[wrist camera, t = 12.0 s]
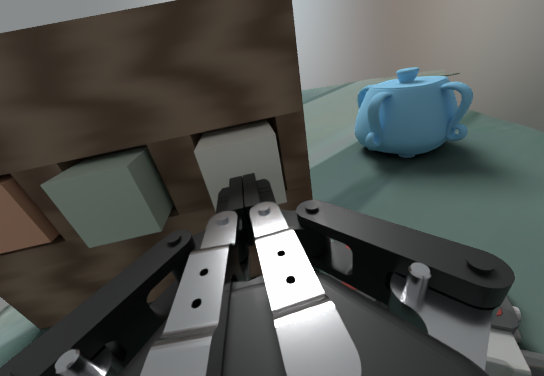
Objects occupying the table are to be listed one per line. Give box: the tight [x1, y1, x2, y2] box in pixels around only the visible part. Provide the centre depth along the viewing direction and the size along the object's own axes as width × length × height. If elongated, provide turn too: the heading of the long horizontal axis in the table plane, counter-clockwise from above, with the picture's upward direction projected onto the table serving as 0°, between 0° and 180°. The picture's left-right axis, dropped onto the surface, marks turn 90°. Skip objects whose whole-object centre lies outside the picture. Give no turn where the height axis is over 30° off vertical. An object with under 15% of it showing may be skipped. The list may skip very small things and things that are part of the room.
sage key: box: [40, 145, 174, 248], centre depth 16 cm, size 5×4×5 cm
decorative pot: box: [355, 68, 473, 158], centre depth 40 cm, size 16×16×14 cm
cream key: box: [194, 120, 287, 211], centre depth 17 cm, size 5×4×5 cm
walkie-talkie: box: [328, 240, 544, 376], centre depth 16 cm, size 9×4×20 cm
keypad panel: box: [0, 0, 313, 329], centre depth 19 cm, size 28×6×22 cm, turn 98°
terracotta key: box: [0, 173, 60, 254], centre depth 18 cm, size 5×4×5 cm
